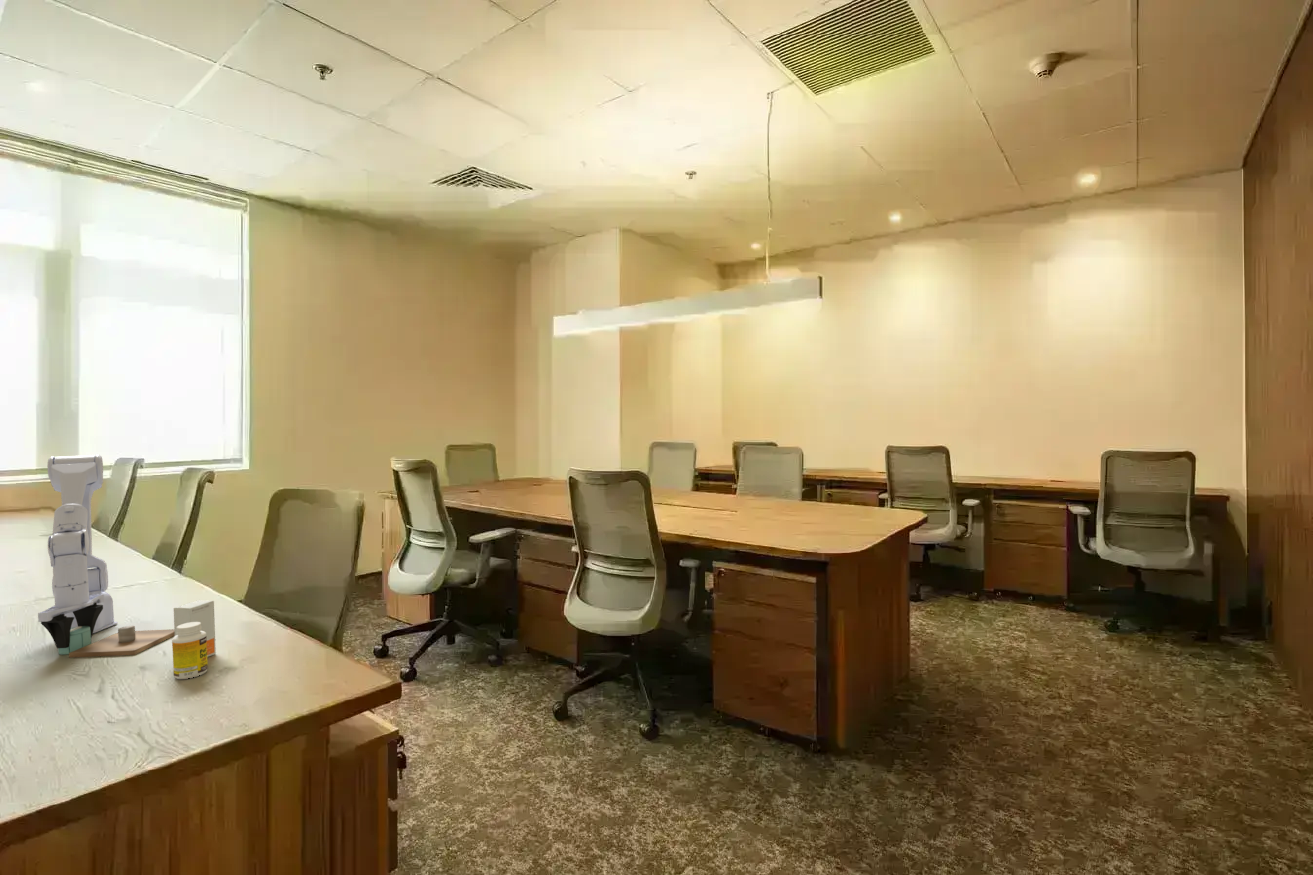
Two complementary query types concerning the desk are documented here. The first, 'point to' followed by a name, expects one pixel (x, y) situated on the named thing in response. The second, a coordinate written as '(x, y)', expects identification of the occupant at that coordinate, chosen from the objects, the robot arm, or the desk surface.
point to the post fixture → (124, 643)
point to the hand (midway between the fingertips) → (74, 642)
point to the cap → (77, 639)
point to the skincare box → (198, 620)
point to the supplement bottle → (189, 651)
